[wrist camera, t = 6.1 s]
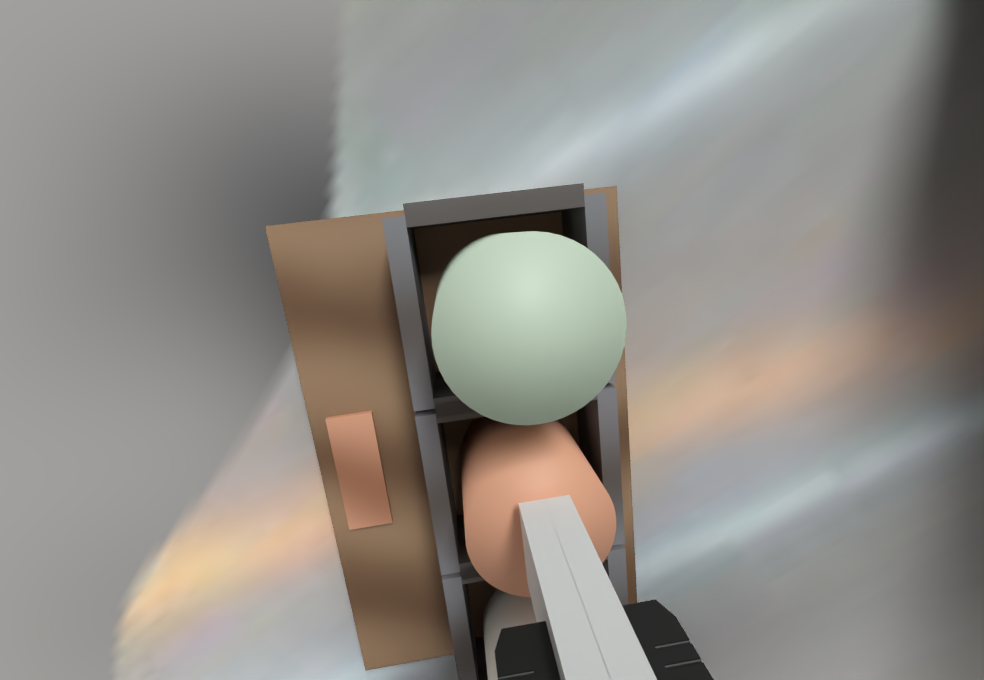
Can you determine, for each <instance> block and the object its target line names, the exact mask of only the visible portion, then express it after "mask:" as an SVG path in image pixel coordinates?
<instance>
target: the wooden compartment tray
mask: <svg viewBox="0 0 984 680" xmlns="http://www.w3.org/2000/svg"><path fill="white" fill-rule="evenodd" d="M403 207H404V210H403V211H394V212H385V213H376V214H368V215H359V216H350V217H341V218H333V219H325V220H315V221H306V222H298V223H289V224H281V225H272V226H266V232H267V236H268V241H269V245H270V250H271V254H272V258H273V263H274V267H275V271H276V276H277V281H278V285H279V289H280V293H281V298H282V302H283V307H284V311H285V316H286V320H287V325H288V329H289V334H290V338H291V342H292V347H293V351H294V356H295V360H296V365H297V369H298V373H299V378H300V382H301V387H302V391H303V396H304V400H305V404H306V409H307V413H308V418H309V422H310V426H311V431H312V435H313V440H314V444H315V449H316V453H317V457H318V462H319V466H320V471H321V475H322V480H323V484H324V488H325V493H326V497H327V502H328V506H329V510H330V515H331V519H332V524H333V528H334V533H335V537H336V541H337V546H338V550H339V555H340V559H341V564H342V568H343V572H344V577H345V581H346V586H347V590H348V595H349V599H350V603H351V608H352V612H353V617H354V621H355V625H356V630H357V634H358V639H359V643H360V648H361V652H362V656H363V661H364V665H365V670H371V669H376V668H382V667H387V666H393V665H398V664H403V663H409V662H414V661H420V660H425V659H430V658H436V657H441V656H447V655H452V654H455V660H456V666H457V672H458V678H459V680H488V676H487V665H486V655H485V644H484V634H483V614H484V610H485V607H486V604H487V602H488V600H489V599H490V597H491V596H492V594H493V593H494V592H495V591H496V590H497V588H495V587H494V586H492V585H491V584H489V583H488V582H487V581H486V580H484V579H483V578H482V577H481V576H480V574H479V573H478V572H477V571H476V569H475V568H474V566H473V564H472V563H471V560H470V558H469V555H468V552H467V548H466V540H465V525H464V510H463V495H462V480H461V465H460V449H461V444H462V441H463V438H464V436H465V434H466V432H467V430H468V428H469V427H470V426H471V424H472V423H473V422H474V421H475V420H476V419H477V418H478V417H485V416H483V415H481V414H479V413H477V412H476V411H474V410H473V409H471V408H470V407H468V406H467V405H466V404H465V403H463V402H462V401H461V400H460V399H459V398H458V397H457V396H456V395H455V394H454V393H453V392H452V390H451V389H450V387H449V386H448V385H447V383H446V382H445V380H444V378H443V376H442V375H441V373H440V371H439V368H438V365H437V363H436V360H435V356H434V352H433V347H432V336H431V329H432V317H433V311H434V305H435V299H436V293H437V287H438V283H439V280H440V277H441V275H442V273H443V271H444V269H445V267H446V265H447V264H448V262H449V261H450V260H451V258H452V257H453V256H454V255H455V254H456V253H457V252H458V251H459V250H460V249H461V248H463V247H464V246H465V245H467V244H468V243H470V242H472V241H474V240H476V239H478V238H481V237H484V236H487V235H491V234H497V233H512V232H529V231H538V232H548V233H553V234H557V235H561V236H564V237H567V238H569V239H572V240H574V241H576V242H578V243H580V244H581V245H583V246H585V247H586V248H588V249H589V250H590V251H592V252H593V253H594V254H595V255H596V256H597V257H598V258H599V259H600V260H601V261H602V262H603V263H604V264H605V265H606V266H607V268H608V269H609V270H610V272H611V273H612V275H613V276H614V278H615V280H616V282H617V283H618V286H619V288H620V291H621V293H622V287H621V267H620V246H619V226H618V206H617V186H612V187H603V188H595V189H586V190H584V185H583V183H582V184H573V185H564V186H556V187H547V188H538V189H529V190H520V191H511V192H503V193H494V194H485V195H476V196H467V197H459V198H450V199H441V200H432V201H423V202H414V203H406V204H403ZM561 420H562V422H563V423H564V425H565V426H566V428H567V429H568V431H569V432H570V434H571V436H572V437H573V439H574V440H575V442H576V443H577V445H578V447H579V448H580V450H581V451H582V453H583V455H584V456H585V458H586V459H587V461H588V462H589V464H590V466H591V467H592V469H593V470H594V472H595V473H596V475H597V477H598V478H599V480H600V481H601V483H602V484H603V486H604V488H605V489H606V491H607V492H608V494H609V496H610V498H611V500H612V502H613V505H614V509H615V513H616V533H615V538H614V542H613V545H612V547H611V550H610V552H609V554H608V556H607V557H606V559H605V561H604V562H603V563H602V564H603V567H604V569H605V571H606V573H607V575H608V577H609V579H610V581H611V583H612V586H613V588H614V590H615V592H616V594H617V596H618V598H619V600H620V602H621V605H622V606H623V605H628V604H634V603H637V592H636V571H635V551H634V531H633V510H632V490H631V470H630V449H629V429H628V409H627V389H626V368H625V348H624V349H623V353H622V356H621V359H620V361H619V364H618V366H617V368H616V370H615V372H614V373H613V375H612V377H611V379H610V380H609V381H608V383H607V384H606V385H605V387H604V388H603V389H602V390H601V391H600V393H599V394H598V395H597V396H596V397H595V398H594V399H592V400H591V401H590V402H589V403H588V404H586V405H585V406H584V407H582V408H581V409H579V410H577V411H576V412H574V413H572V414H570V415H568V416H566V417H564V418H561Z"/></svg>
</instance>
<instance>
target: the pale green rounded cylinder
mask: <svg viewBox="0 0 984 680" xmlns="http://www.w3.org/2000/svg"><path fill="white" fill-rule="evenodd" d="M626 332H627V318H626V309H625V304H624V300H623V296H622V293H621V291H620V288H619V286H618V283H617V282H616V280H615V278H614V276H613V275H612V273H611V272H610V270H609V269H608V268H607V266H606V265H605V264H604V263H603V262H602V261H601V260H600V259H599V258H598V257H597V256H596V255H595V254H594V253H593V252H592V251H590V250H589V249H588V248H586V247H585V246H583V245H581V244H580V243H578V242H576V241H574V240H572V239H569V238H567V237H564V236H561V235H557V234H553V233H548V232H538V231H529V232H512V233H497V234H491V235H487V236H484V237H481V238H478V239H476V240H474V241H472V242H470V243H468V244H467V245H465V246H464V247H463V248H461V249H460V250H459V251H458V252H457V253H456V254H455V255H454V256H453V257H452V258H451V260H450V261H449V262H448V264H447V265H446V267H445V269H444V271H443V273H442V275H441V277H440V280H439V283H438V287H437V293H436V299H435V305H434V311H433V317H432V329H431V336H432V347H433V352H434V356H435V360H436V363H437V365H438V368H439V371H440V373H441V375H442V376H443V378H444V380H445V382H446V383H447V385H448V386H449V387H450V389H451V390H452V392H453V393H454V394H455V395H456V396H457V397H458V398H459V399H460V400H461V401H462V402H463V403H465V404H466V405H467V406H468V407H470V408H471V409H473V410H474V411H476V412H477V413H479V414H481V415H483V416H485V417H487V418H490V419H492V420H495V421H499V422H502V423H507V424H513V425H537V424H543V423H548V422H552V421H555V420H558V419H561V418H564V417H566V416H568V415H570V414H572V413H574V412H576V411H577V410H579V409H581V408H582V407H584V406H585V405H586V404H588V403H589V402H590V401H591V400H592V399H594V398H595V397H596V396H597V395H598V394H599V393H600V391H601V390H602V389H603V388H604V387H605V385H606V384H607V383H608V381H609V380H610V379H611V377H612V375H613V373H614V372H615V370H616V368H617V366H618V364H619V361H620V359H621V356H622V353H623V349H624V345H625V339H626Z"/></svg>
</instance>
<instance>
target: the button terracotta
mask: <svg viewBox="0 0 984 680" xmlns="http://www.w3.org/2000/svg"><path fill="white" fill-rule="evenodd" d="M460 465H461V480H462V495H463V510H464V525H465V540H466V548H467V552H468V555H469V558H470V560H471V563H472V564H473V566H474V568H475V569H476V571H477V572H478V573H479V574H480V576H481V577H482V578H483V579H484V580H486V581H487V582H488V583H489V584H491V585H492V586H494V587H495V588H497V589H499V590H501V591H503V592H506V593H508V594H511V595H516V596H520V597H529V598H531V596H530V592H529V587H528V582H527V574H526V565H525V556H524V548H523V539H522V530H521V522H520V513H519V504H518V503H522V502H528V501H534V500H540V499H546V498H553V497H559V496H565V495H570V497H571V499H572V501H573V503H574V505H575V507H576V509H577V512H578V514H579V516H580V518H581V520H582V522H583V524H584V526H585V528H586V531H587V533H588V535H589V537H590V539H591V541H592V543H593V545H594V547H595V550H596V552H597V554H598V556H599V558H600V560H601V562H602V563H603V562H604V561H605V559H606V557H607V556H608V554H609V552H610V550H611V547H612V545H613V542H614V538H615V533H616V513H615V509H614V505H613V502H612V500H611V498H610V496H609V494H608V492H607V491H606V489H605V488H604V486H603V484H602V483H601V481H600V480H599V478H598V477H597V475H596V473H595V472H594V470H593V469H592V467H591V466H590V464H589V462H588V461H587V459H586V458H585V456H584V455H583V453H582V451H581V450H580V448H579V447H578V445H577V443H576V442H575V440H574V439H573V437H572V436H571V434H570V432H569V431H568V429H567V428H566V426H565V425H564V423H563V422H562V420H561V419H558V420H555V421H552V422H548V423H543V424H537V425H513V424H507V423H502V422H499V421H495V420H492V419H490V418H487V417H478V418H477V419H476V420H475V421H474V422H473V423H472V424H471V426H470V427H469V428H468V430H467V432H466V434H465V436H464V438H463V441H462V444H461V449H460Z"/></svg>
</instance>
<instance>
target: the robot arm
mask: <svg viewBox="0 0 984 680" xmlns="http://www.w3.org/2000/svg"><path fill="white" fill-rule="evenodd" d="M518 504H519V513H520V522H521V530H522V539H523V548H524V556H525V565H526V574H527V582H528V587H529V592H530V596H531V600H532V604H533V609H534V613H535V617H536V622H537V623H531V624H525V625H520V626H514V627H509V628H503V629H501V632H500V635H499V638H498V642H497V645H496V648H495V660H496V669H497V677H498V680H713V678H712V677H711V675H710V673H709V672H708V670H707V668H706V667H705V665H704V663H702V662H701V659H700V657H699V655H698V653H697V652H696V650H695V648H694V647H693V645H692V644H690V641H689V638H688V637H687V635H686V633H685V632H684V630H683V628H682V627H681V625H680V623H679V622H678V620H677V618H676V617H675V616H674V615H673V614H672V613H671V612H669V611H668V610H667V609H666V608H665V607H664V606H662V605H661V604H660V603H659V602H658V601H657V600H651V601H645V602H640V603H634V604H628V605H623V606H622V605H621V602H620V600H619V598H618V596H617V594H616V592H615V590H614V588H613V586H612V583H611V581H610V579H609V577H608V575H607V573H606V571H605V569H604V567H603V564H602V562H601V560H600V558H599V556H598V554H597V552H596V550H595V547H594V545H593V543H592V541H591V539H590V537H589V535H588V533H587V531H586V528H585V526H584V524H583V522H582V520H581V518H580V516H579V514H578V512H577V509H576V507H575V505H574V503H573V501H572V499H571V497H570V495H565V496H559V497H553V498H546V499H540V500H534V501H528V502H522V503H518Z"/></svg>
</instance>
